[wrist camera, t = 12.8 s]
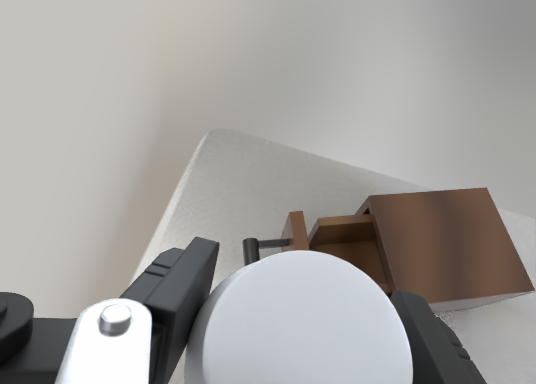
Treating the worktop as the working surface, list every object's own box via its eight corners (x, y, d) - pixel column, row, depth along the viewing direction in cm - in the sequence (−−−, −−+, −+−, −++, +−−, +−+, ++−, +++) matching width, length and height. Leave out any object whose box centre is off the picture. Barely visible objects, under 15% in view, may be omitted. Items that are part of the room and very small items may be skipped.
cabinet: (363, 321, 33) (400, 307, 26) (342, 230, 38) (368, 195, 30) (470, 308, 35) (536, 291, 27) (438, 222, 39) (486, 187, 32)
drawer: (247, 327, 31) (250, 317, 25) (240, 241, 35) (241, 215, 29) (396, 310, 33) (432, 296, 27) (374, 230, 37) (401, 203, 31)
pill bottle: (222, 289, 16) (208, 194, 8) (332, 312, 16) (444, 243, 8) (188, 424, 14) (109, 509, 5) (320, 452, 13) (470, 588, 5)
